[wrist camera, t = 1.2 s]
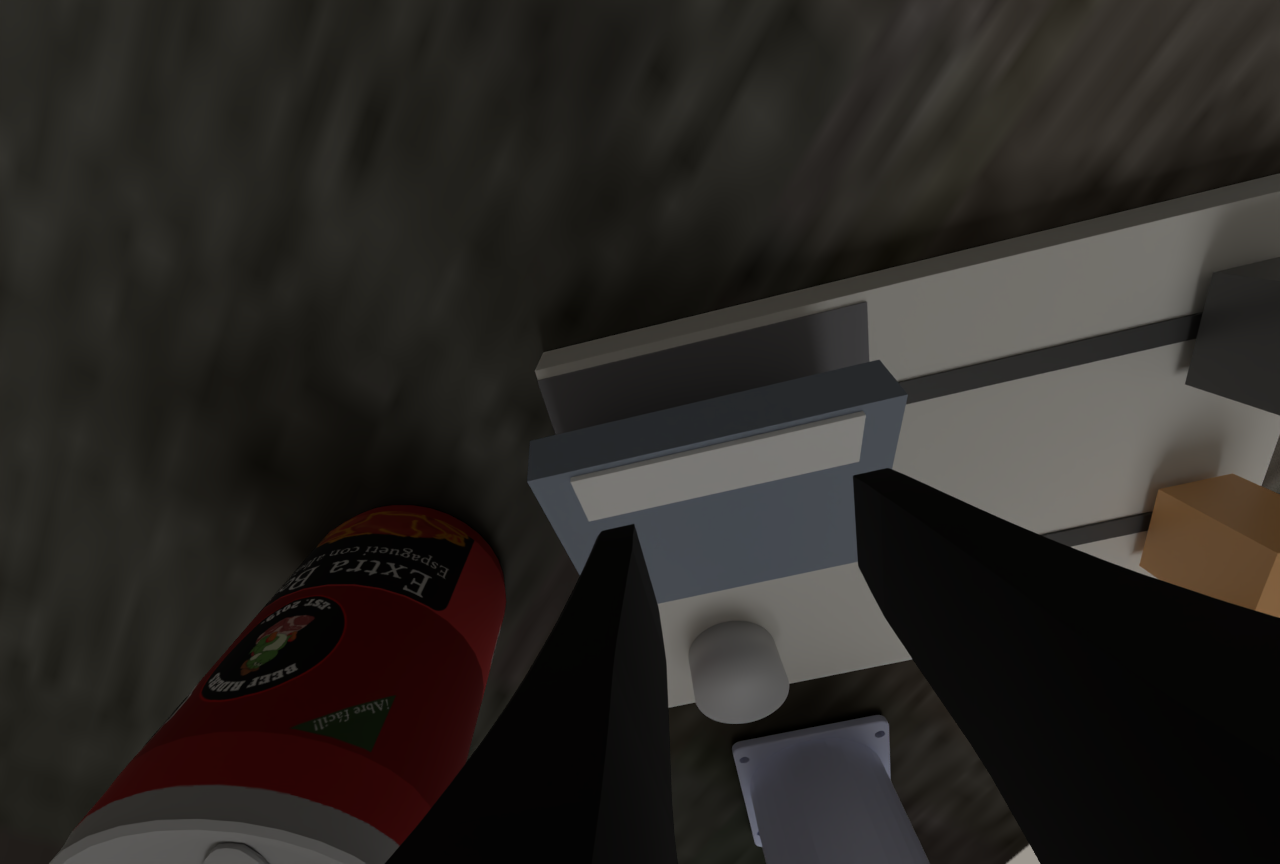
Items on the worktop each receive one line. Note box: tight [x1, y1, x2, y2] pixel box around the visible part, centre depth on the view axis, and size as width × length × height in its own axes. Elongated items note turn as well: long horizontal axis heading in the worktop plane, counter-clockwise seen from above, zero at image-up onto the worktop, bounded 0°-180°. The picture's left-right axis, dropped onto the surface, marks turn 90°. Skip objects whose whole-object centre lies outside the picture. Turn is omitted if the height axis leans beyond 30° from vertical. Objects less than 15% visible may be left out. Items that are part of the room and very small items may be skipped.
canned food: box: [49, 505, 506, 864], centre depth 16 cm, size 8×8×11 cm
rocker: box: [527, 359, 908, 604], centre depth 14 cm, size 7×9×2 cm
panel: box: [535, 173, 1280, 724], centre depth 18 cm, size 16×24×4 cm, turn 103°
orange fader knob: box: [1139, 473, 1280, 618], centre depth 17 cm, size 4×2×4 cm
